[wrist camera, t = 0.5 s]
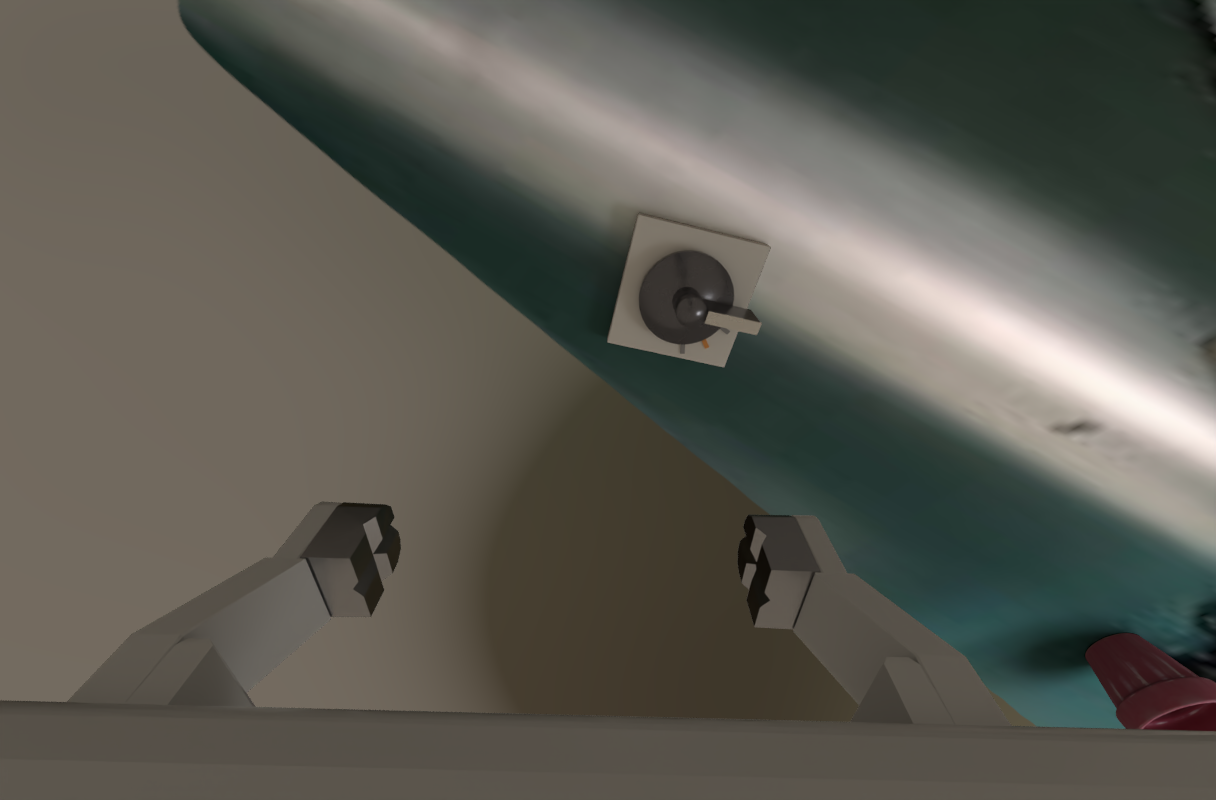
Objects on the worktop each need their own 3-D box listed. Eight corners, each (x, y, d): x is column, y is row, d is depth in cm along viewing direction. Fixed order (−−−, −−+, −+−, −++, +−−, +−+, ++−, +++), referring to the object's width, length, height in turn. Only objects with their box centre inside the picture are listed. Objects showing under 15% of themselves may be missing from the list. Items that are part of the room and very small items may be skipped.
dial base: (637, 212, 48) (638, 214, 46) (766, 244, 49) (771, 247, 48) (607, 337, 54) (607, 342, 53) (721, 361, 56) (724, 368, 54)
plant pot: (1151, 612, 78) (1241, 691, 67) (1166, 651, 84) (1251, 731, 72) (1059, 644, 83) (1128, 723, 72) (1078, 679, 88) (1145, 758, 77)
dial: (628, 330, 52) (630, 349, 48) (652, 240, 47) (657, 251, 43) (730, 352, 53) (741, 373, 49) (764, 266, 49) (779, 280, 44)
